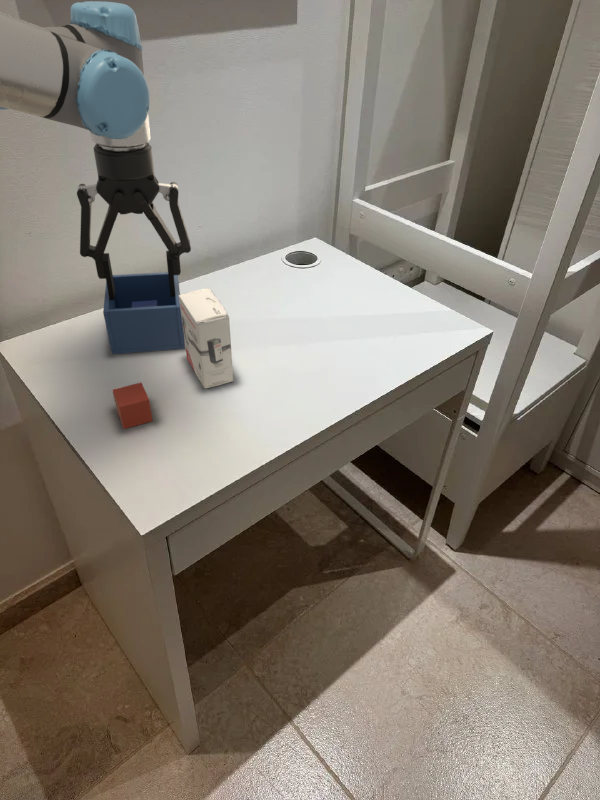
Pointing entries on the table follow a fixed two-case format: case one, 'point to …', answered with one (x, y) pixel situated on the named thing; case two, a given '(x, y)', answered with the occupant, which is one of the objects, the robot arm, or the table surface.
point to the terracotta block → (132, 405)
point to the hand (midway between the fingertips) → (142, 294)
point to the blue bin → (143, 314)
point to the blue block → (144, 304)
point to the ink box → (207, 337)
